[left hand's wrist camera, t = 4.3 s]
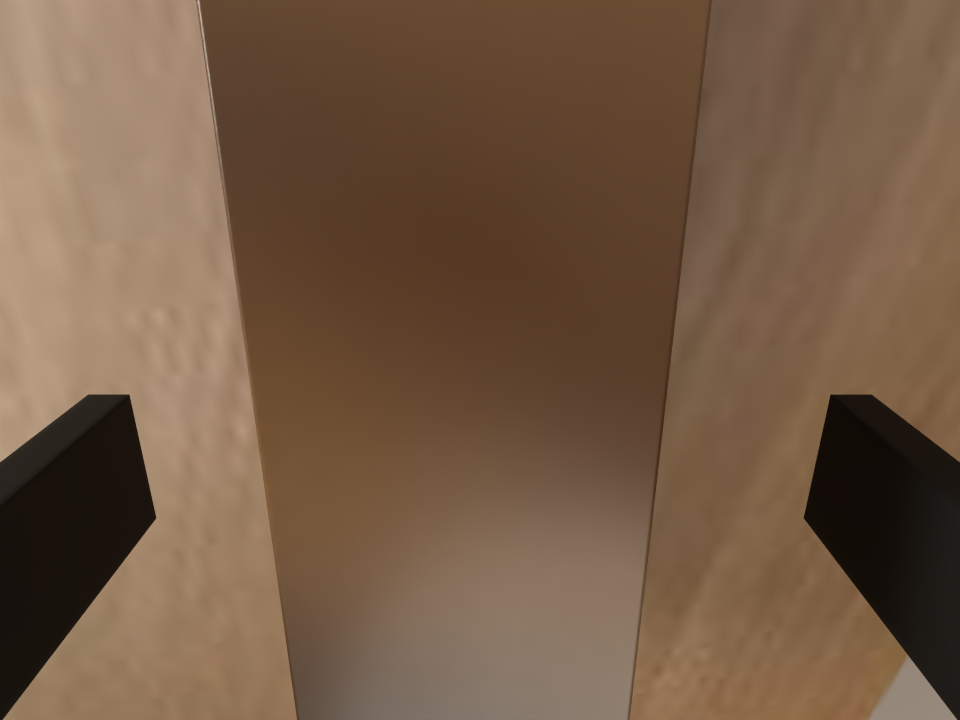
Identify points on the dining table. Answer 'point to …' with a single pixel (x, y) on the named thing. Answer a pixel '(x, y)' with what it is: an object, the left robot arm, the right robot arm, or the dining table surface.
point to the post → (458, 334)
